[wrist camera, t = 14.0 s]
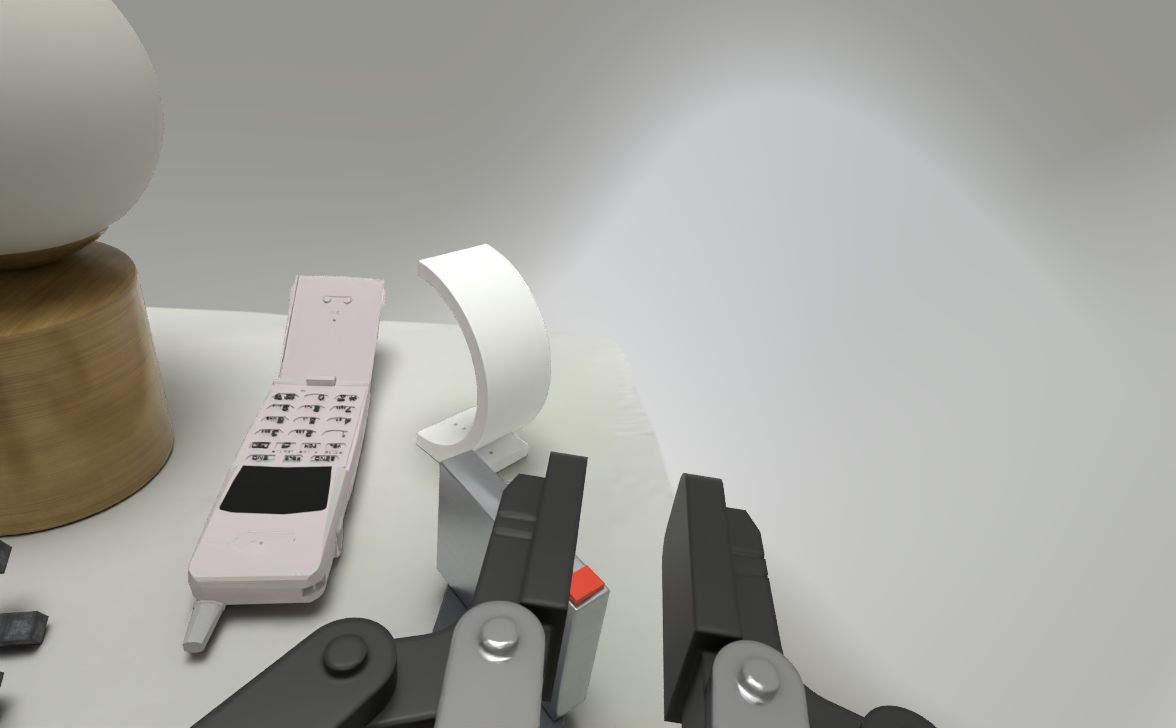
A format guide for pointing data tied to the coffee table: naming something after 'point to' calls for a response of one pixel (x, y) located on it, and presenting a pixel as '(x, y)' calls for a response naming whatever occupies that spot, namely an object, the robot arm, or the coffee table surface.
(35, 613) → the building blocks
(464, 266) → the headphone stand
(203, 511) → the coffee table surface
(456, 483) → the grey flat block
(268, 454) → the mobile phone
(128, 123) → the lamp
